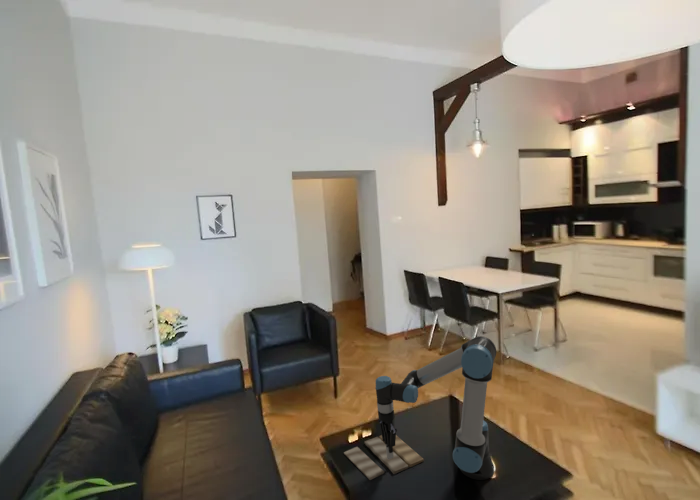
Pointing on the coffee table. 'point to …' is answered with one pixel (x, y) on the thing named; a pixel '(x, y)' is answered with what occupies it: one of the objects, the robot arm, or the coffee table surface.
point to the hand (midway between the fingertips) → (390, 457)
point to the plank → (364, 463)
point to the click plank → (380, 451)
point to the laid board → (405, 452)
